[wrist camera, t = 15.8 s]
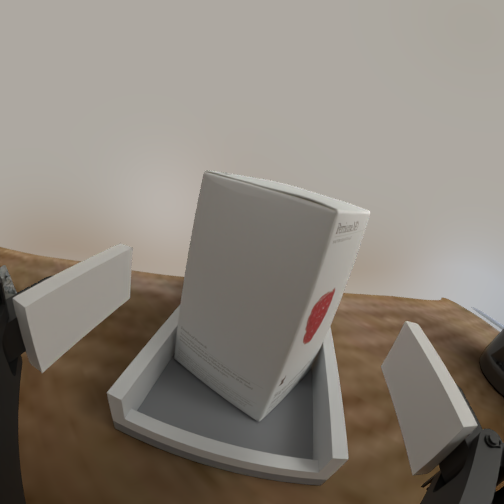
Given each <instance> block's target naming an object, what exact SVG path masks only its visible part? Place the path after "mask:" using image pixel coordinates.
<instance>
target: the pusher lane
mask: <svg viewBox="0 0 504 504" xmlns="http://www.w3.org/2000/svg"><path fill="white" fill-rule="evenodd" d="M180 305H181V304H180ZM180 305H179V306H178V307H177V309H176V310H175V311H174V312H173V313H172V314H171V316H170V317H169V318H168V319H167V320H166V322H165V323H164V324H163V325H162V326H161V327H160V329H159V330H158V331H157V332H156V333H155V335H154V336H153V337H152V338H151V339H150V341H149V342H148V343H147V344H146V345H145V347H144V348H143V349H142V350H141V351H140V353H139V354H138V355H137V356H136V357H135V359H134V360H133V361H132V362H131V364H130V365H129V366H128V367H127V368H126V370H125V371H124V372H123V373H122V375H121V376H120V377H119V378H118V379H117V381H116V382H115V383H114V384H113V386H112V387H111V388H110V389H109V391H108V392H107V396H108V401H109V406H110V410H111V415H112V419H113V423H114V427H115V428H116V429H118V430H120V431H122V432H124V433H126V434H128V435H130V436H132V437H134V438H136V439H138V440H140V441H143V442H145V443H147V444H150V445H152V446H154V447H157V448H159V449H162V450H164V451H167V452H169V453H172V454H175V455H178V456H180V457H183V458H186V459H189V460H192V461H195V462H198V463H202V464H205V465H208V466H212V467H215V468H219V469H223V470H226V471H230V472H235V473H239V474H243V475H248V476H253V477H258V478H263V479H269V480H275V481H282V482H290V483H298V484H309V485H322V484H323V483H324V482H325V481H326V480H327V479H328V478H329V477H331V476H332V475H333V474H334V473H335V472H336V471H337V470H338V469H339V468H340V467H341V466H342V465H343V464H344V463H345V462H346V461H347V460H348V459H349V458H348V447H347V437H346V428H345V419H344V411H343V403H342V395H341V388H340V381H339V375H338V368H337V362H336V356H335V350H334V344H333V338H332V333H331V327H329V330H328V332H327V334H326V336H325V339H324V341H323V343H322V345H321V348H320V350H319V352H318V354H317V356H316V358H315V360H314V363H313V365H312V367H311V369H310V370H309V371H308V372H307V374H306V375H305V376H304V377H303V378H302V379H301V380H300V381H299V383H298V384H297V385H296V386H295V387H294V388H293V389H292V390H291V391H290V392H289V393H288V394H287V395H286V396H285V397H284V399H283V400H282V401H281V402H280V403H279V404H278V405H277V406H276V407H275V408H274V409H273V410H272V411H271V412H269V413H268V414H267V415H266V416H265V417H264V418H263V419H262V420H261V421H256V420H255V419H253V418H252V417H250V416H249V415H247V414H246V413H244V412H243V411H242V410H240V409H239V408H237V407H236V406H234V405H233V404H231V403H230V402H229V401H227V400H226V399H224V398H223V397H222V396H221V395H219V394H218V393H217V392H215V391H214V390H213V389H211V388H210V387H209V386H207V385H206V384H205V383H203V382H202V381H201V380H200V379H198V378H197V377H196V376H195V375H193V374H192V373H191V372H190V371H189V370H187V369H186V368H185V367H184V366H182V365H181V364H180V363H179V362H178V361H177V360H175V359H174V355H175V345H176V337H177V328H178V320H179V312H180Z"/></svg>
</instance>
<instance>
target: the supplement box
mask: <svg viewBox="0 0 504 504" xmlns="http://www.w3.org/2000/svg"><path fill="white" fill-rule="evenodd" d="M369 216H370V211H368V210H366V209H363V208H361V207H358V206H356V205H353V204H350V203H347V202H343V201H340V200H337V199H334V198H331V197H328V196H325V195H321V194H318V193H315V192H311V191H308V190H305V189H302V188H298V187H295V186H292V185H288V184H285V183H281V182H276V181H271V180H266V179H260V178H254V177H248V176H242V175H236V174H229V173H224V172H216V171H210V170H209V171H208V170H207V171H205V172H204V175H203V180H202V184H201V189H200V194H199V199H198V204H197V209H196V214H195V219H194V225H193V230H192V236H191V242H190V248H189V253H188V259H187V265H186V271H185V277H184V284H183V291H182V297H181V305H180V312H179V320H178V328H177V337H176V345H175V355H174V359H175V360H177V361H178V362H179V363H180V364H181V365H182V366H184V367H185V368H186V369H187V370H189V371H190V372H191V373H192V374H193V375H195V376H196V377H197V378H198V379H200V380H201V381H202V382H203V383H205V384H206V385H207V386H209V387H210V388H211V389H213V390H214V391H215V392H217V393H218V394H219V395H221V396H222V397H223V398H224V399H226V400H227V401H229V402H230V403H231V404H233V405H234V406H236V407H237V408H239V409H240V410H242V411H243V412H244V413H246V414H247V415H249V416H250V417H252V418H253V419H255V420H256V421H261V420H262V419H263V418H264V417H265V416H266V415H267V414H268V413H269V412H271V411H272V410H273V409H274V408H275V407H276V406H277V405H278V404H279V403H280V402H281V401H282V400H283V399H284V397H285V396H286V395H287V394H288V393H289V392H290V391H291V390H292V389H293V388H294V387H295V386H296V385H297V384H298V383H299V381H300V380H301V379H302V378H303V377H304V376H305V375H306V374H307V372H308V371H309V370H310V369H311V367H312V365H313V363H314V360H315V358H316V356H317V354H318V352H319V350H320V348H321V345H322V343H323V341H324V339H325V336H326V334H327V332H328V330H329V327H330V325H331V323H332V320H333V318H334V315H335V313H336V310H337V308H338V305H339V303H340V300H341V298H342V295H343V293H344V290H345V287H346V285H347V282H348V279H349V277H350V274H351V271H352V268H353V265H354V262H355V260H356V257H357V254H358V251H359V247H360V245H361V241H362V239H363V235H364V232H365V229H366V226H367V223H368V219H369Z"/></svg>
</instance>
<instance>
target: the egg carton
mask: <svg viewBox="0 0 504 504" xmlns="http://www.w3.org/2000/svg"><path fill="white" fill-rule="evenodd" d="M0 276H1V278H2V282H3V288H4V293H5V298H6V299H8V298H9V297H11V296H13V295H15V294H16V289H15V287H14V285H13V282H12V280H11V277H10V275H9V273H8V270H7V268H6V266H5V265H3V266H2V267H1V268H0Z"/></svg>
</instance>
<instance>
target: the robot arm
mask: <svg viewBox="0 0 504 504" xmlns="http://www.w3.org/2000/svg"><path fill="white" fill-rule="evenodd" d="M132 251H133V248H132V247H130V246H127V245H124V244H118V245H115V246H113V247H111V248H109V249H107V250H105V251H103V252H100V253H98V254H96V255H95V256H92V257H90V258H88V259H86V260H84V261H82V262H80V263H78V264H76V265H74V266H72V267H70V268H68V269H66V270H64V271H62V272H60V273H58V274H56V275H53V276H49V277H46V278H44V279H42V280H40V281H39V282H38V283H35V284H33V285H31V287H27V288H25V289H24V290H22V291H20V292H18V293H16V294H15V295H13V296H11V297H9V298H8V299H6V298H5V293H4V288H3V282H2V278H1V276H0V504H26V502H25V497H24V491H23V485H22V478H21V470H20V460H19V444H18V404H19V388H20V377H21V369H22V357H21V354H22V353H23V352H25V351H26V354H27V357H28V360H29V363H30V364H31V365H33V366H34V367H35V368H37V369H38V370H39V371H41V372H42V373H43V372H44V371H45V370H46V369H48V368H49V367H50V366H51V365H52V364H53V363H54V362H55V361H56V360H58V359H59V358H60V357H61V356H62V355H63V354H64V353H66V352H67V351H68V350H69V349H70V348H71V347H72V346H74V345H75V344H76V343H77V342H78V341H79V340H81V339H82V338H83V337H84V336H85V335H86V334H88V333H89V332H90V331H91V330H92V329H93V328H95V327H96V326H97V325H98V324H99V323H101V322H102V321H103V320H104V319H105V318H107V317H108V316H109V315H110V314H111V313H113V312H114V311H115V310H116V309H117V308H119V307H120V306H121V305H122V304H124V303H125V302H126V301H127V300H128V299H130V286H131V266H132ZM480 366H481V369H482V371H483V373H484V375H485V376H486V378H487V379H488V380H489V382H490V383H491V384H492V385H493V386H494V387H495V388H496V389H497V390H498V391H499V392H500V393H501V394H502V395H503V396H504V329H503V330H502V331H501V332H500V333H499V334H498V335H497V336H496V337H495V339H494V340H493V341H492V342H491V343H490V344H489V345H488V346H487V347H486V349H485V351H484V352H483V354H482V356H481V357H480ZM381 368H382V371H383V374H384V377H385V380H386V383H387V386H388V389H389V392H390V395H391V398H392V401H393V404H394V408H395V411H396V414H397V418H398V421H399V425H400V428H401V432H402V435H403V439H404V443H405V447H406V450H407V454H408V458H409V463H410V467H411V471H412V475H420V474H427V473H429V472H430V471H431V470H433V469H434V468H435V467H436V466H437V465H438V464H439V466H440V471H439V472H438V473H436V474H435V475H434V476H433V477H431V478H430V479H429V480H428V481H426V482H425V483H424V484H423V485H422V486H421V487H423V488H424V487H425V486H426V485H428V484H429V483H431V484H430V486H429V487H428V488H427V489H426V490H427V492H426V494H425V496H424V498H423V500H422V501H421V503H420V504H504V486H503V487H502V488H501V489H500V490H498V491H497V492H496V490H495V488H496V486H498V485H499V484H500V483H501V482H502V481H504V443H502V440H501V438H500V437H499V435H498V434H497V433H496V432H495V431H493V430H491V429H484V430H483V429H482V427H481V425H480V423H479V421H478V419H477V418H476V416H475V414H474V412H473V410H472V408H471V406H469V405H470V404H469V402H468V401H467V399H466V397H465V395H464V393H463V392H462V390H461V388H460V387H459V386H458V385H457V384H456V383H455V382H454V380H453V378H452V377H451V375H450V373H449V372H448V370H447V368H446V367H445V365H444V363H443V362H442V360H441V358H440V357H439V355H438V354H437V352H436V350H435V349H434V347H433V346H432V344H431V343H430V341H429V340H428V338H427V337H426V335H425V334H424V332H423V331H422V329H421V328H420V326H419V325H418V324H417V323H412V322H408V321H405V323H404V325H403V327H402V329H401V331H400V333H399V335H398V337H397V339H396V341H395V342H394V344H393V346H392V348H391V350H390V352H389V353H388V355H387V357H386V359H385V360H384V362H383V364H382V366H381Z"/></svg>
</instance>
